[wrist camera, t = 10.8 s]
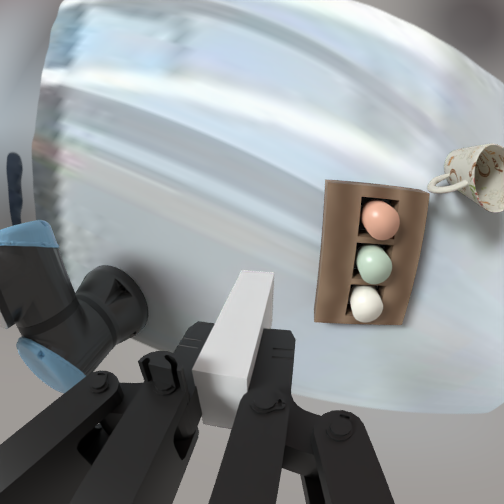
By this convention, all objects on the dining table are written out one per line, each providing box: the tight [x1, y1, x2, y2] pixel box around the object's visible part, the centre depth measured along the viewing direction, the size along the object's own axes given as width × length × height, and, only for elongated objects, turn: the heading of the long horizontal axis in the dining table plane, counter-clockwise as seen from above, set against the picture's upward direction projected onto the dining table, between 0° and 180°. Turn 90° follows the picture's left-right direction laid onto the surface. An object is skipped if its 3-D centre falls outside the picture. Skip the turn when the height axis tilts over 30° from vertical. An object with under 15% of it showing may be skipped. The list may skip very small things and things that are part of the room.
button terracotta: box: [360, 199, 400, 240], centre depth 32 cm, size 4×4×4 cm
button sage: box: [355, 243, 392, 284], centre depth 35 cm, size 4×4×4 cm
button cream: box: [349, 284, 383, 322], centre depth 37 cm, size 4×4×4 cm
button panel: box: [314, 179, 429, 325], centre depth 36 cm, size 14×20×4 cm
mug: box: [427, 144, 504, 213], centre depth 27 cm, size 8×13×10 cm, turn 116°
